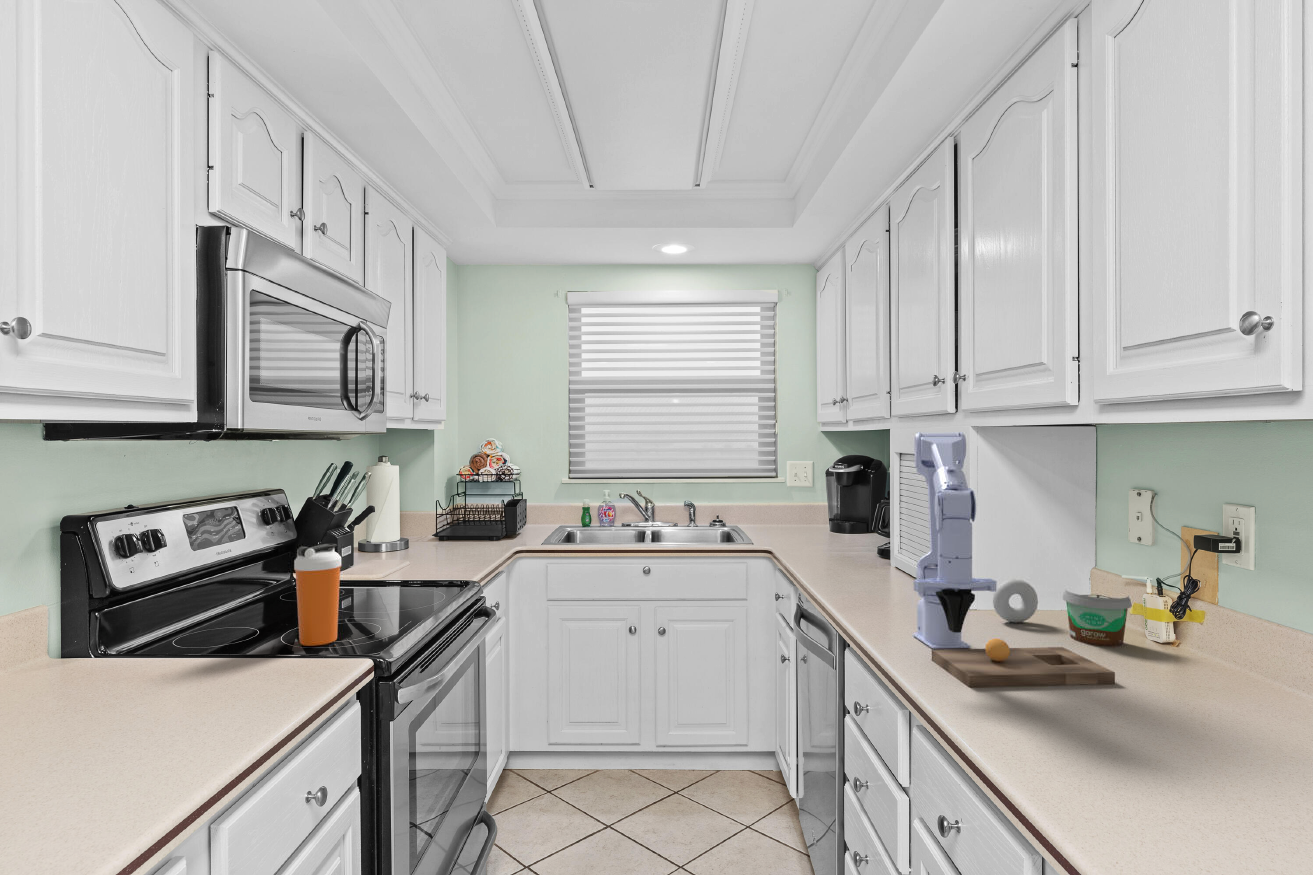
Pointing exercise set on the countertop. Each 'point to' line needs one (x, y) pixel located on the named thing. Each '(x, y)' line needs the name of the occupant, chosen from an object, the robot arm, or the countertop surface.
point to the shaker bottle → (317, 593)
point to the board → (1022, 667)
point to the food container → (1097, 618)
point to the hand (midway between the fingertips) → (954, 630)
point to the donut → (1027, 603)
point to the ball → (997, 649)
